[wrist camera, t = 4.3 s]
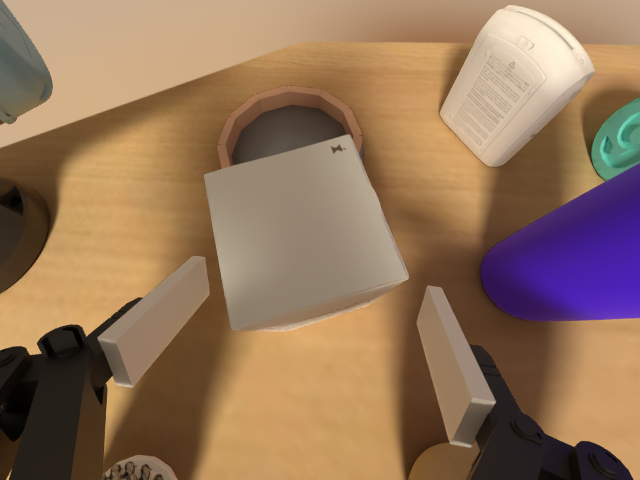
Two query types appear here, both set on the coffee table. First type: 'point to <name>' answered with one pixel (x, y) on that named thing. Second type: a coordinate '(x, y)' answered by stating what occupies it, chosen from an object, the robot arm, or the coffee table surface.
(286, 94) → the ringed saucer
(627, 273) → the bottle
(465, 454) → the plant pot
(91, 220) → the coffee table surface
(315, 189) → the supplement box
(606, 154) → the mint green rounded piece
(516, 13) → the photo printer
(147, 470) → the decorative candle
